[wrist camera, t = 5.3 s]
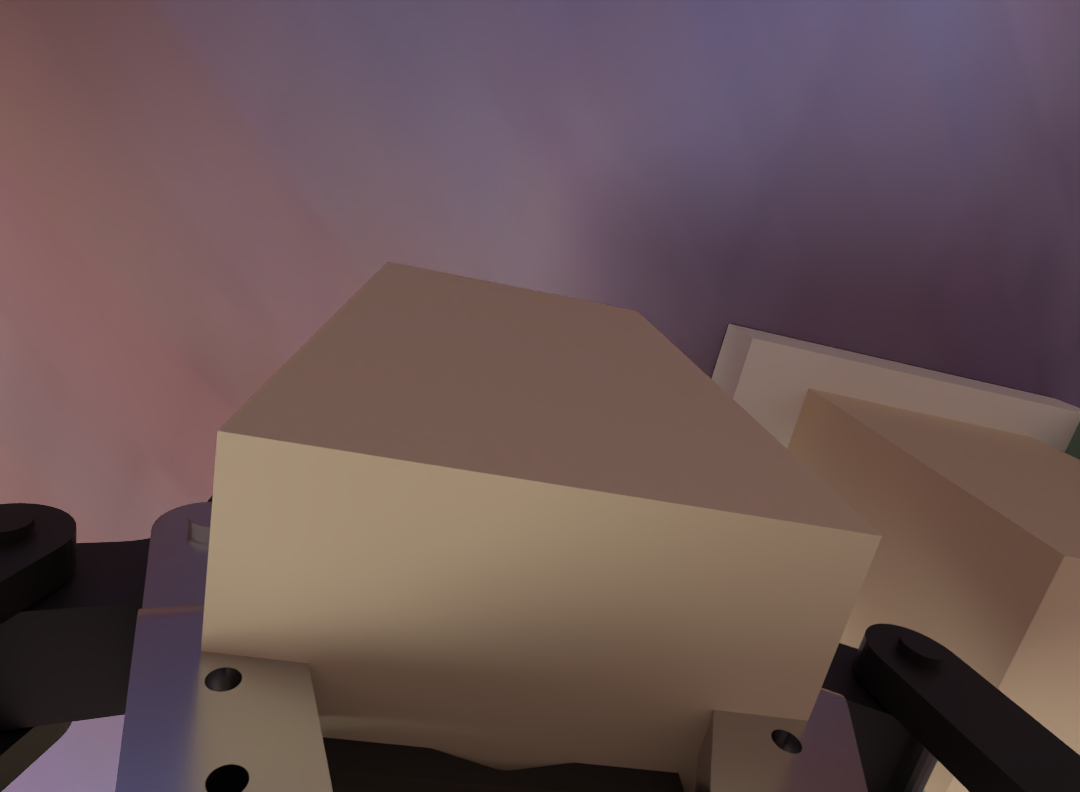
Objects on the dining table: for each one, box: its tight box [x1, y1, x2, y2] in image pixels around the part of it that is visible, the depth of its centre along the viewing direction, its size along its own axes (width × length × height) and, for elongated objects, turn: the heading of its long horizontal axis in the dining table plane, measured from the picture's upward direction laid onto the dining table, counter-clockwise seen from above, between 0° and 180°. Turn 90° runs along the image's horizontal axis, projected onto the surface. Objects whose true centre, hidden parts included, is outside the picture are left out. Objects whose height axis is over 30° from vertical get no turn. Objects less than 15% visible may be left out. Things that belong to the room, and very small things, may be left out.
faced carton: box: [787, 388, 1080, 792], centre depth 16 cm, size 5×7×9 cm
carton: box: [201, 262, 882, 792], centre depth 10 cm, size 5×7×9 cm
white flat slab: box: [711, 324, 1080, 792], centre depth 22 cm, size 22×11×4 cm, turn 167°
